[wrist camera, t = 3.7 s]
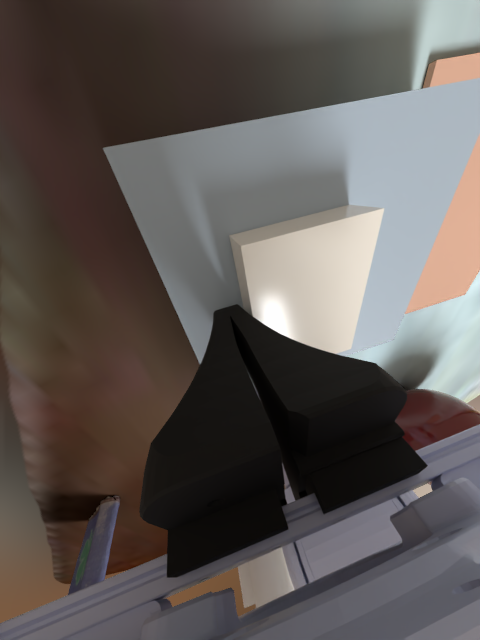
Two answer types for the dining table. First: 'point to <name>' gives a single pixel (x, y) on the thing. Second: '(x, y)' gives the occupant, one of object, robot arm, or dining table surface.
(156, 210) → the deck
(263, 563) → the white tall block
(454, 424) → the round-bottom flask
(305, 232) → the tile
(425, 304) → the mat
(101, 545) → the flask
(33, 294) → the dining table surface
